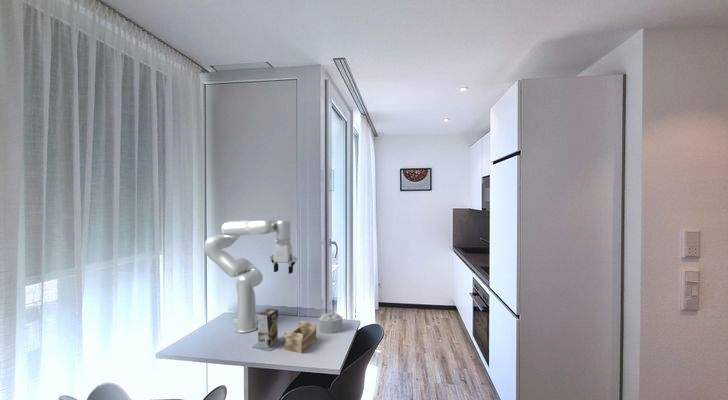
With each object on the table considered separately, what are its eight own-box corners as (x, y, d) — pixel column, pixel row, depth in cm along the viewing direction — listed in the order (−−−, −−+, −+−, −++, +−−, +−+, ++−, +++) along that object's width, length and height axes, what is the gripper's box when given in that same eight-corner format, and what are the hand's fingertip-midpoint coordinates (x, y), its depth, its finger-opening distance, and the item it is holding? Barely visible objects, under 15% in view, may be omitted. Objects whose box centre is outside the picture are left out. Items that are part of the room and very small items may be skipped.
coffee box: (269, 348, 146) (269, 315, 146) (257, 346, 148) (257, 314, 148) (278, 340, 155) (278, 309, 155) (267, 338, 157) (267, 308, 157)
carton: (284, 349, 146) (284, 331, 146) (299, 338, 159) (299, 321, 159) (302, 353, 143) (302, 334, 143) (316, 341, 155) (316, 324, 155)
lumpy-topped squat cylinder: (322, 325, 175) (322, 310, 175) (344, 326, 173) (344, 311, 173) (317, 333, 165) (317, 317, 165) (340, 334, 163) (340, 318, 163)
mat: (252, 347, 148) (252, 346, 148) (266, 337, 158) (266, 337, 158) (270, 351, 144) (270, 350, 144) (284, 341, 155) (284, 340, 155)
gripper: (266, 241, 166) (266, 272, 166) (292, 243, 160) (292, 275, 160) (274, 240, 173) (274, 269, 173) (300, 241, 167) (300, 272, 167)
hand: (283, 272), depth 166 cm, fingers open, 9 cm apart
